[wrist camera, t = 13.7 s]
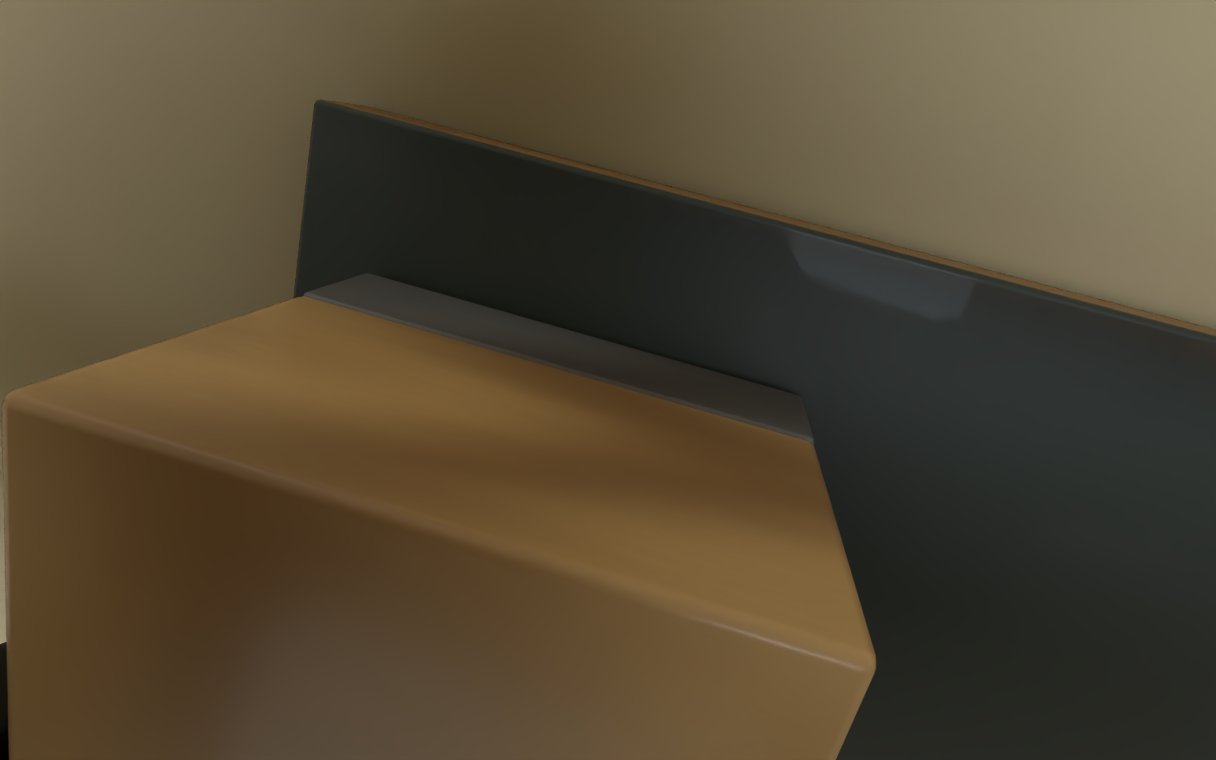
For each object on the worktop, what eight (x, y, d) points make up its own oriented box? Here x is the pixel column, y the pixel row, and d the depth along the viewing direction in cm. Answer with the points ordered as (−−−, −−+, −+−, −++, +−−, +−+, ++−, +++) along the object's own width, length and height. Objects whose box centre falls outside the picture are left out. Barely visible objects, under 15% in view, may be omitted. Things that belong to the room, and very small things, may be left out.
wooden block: (802, 394, 7) (886, 663, 3) (623, 901, 9) (552, 1407, 6) (366, 270, 7) (-9, 390, 4) (293, 788, 10) (12, 1194, 6)
